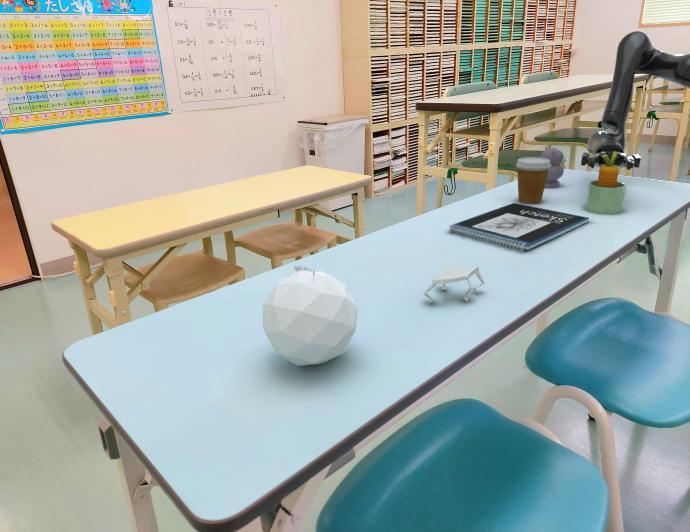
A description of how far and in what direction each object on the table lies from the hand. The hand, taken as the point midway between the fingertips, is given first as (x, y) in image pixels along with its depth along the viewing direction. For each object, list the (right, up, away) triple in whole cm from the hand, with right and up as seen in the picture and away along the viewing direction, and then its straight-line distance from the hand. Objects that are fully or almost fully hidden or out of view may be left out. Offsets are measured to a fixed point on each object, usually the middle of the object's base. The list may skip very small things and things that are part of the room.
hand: (611, 165), depth 135 cm
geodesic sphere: (-74, -40, -56) cm, 102 cm away
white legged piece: (-50, -32, -40) cm, 72 cm away
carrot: (+1, -10, +6) cm, 12 cm away
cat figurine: (-4, 0, +32) cm, 32 cm away
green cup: (+1, -11, +6) cm, 13 cm away
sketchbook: (-26, -17, -5) cm, 31 cm away
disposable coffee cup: (-15, -8, +16) cm, 24 cm away
